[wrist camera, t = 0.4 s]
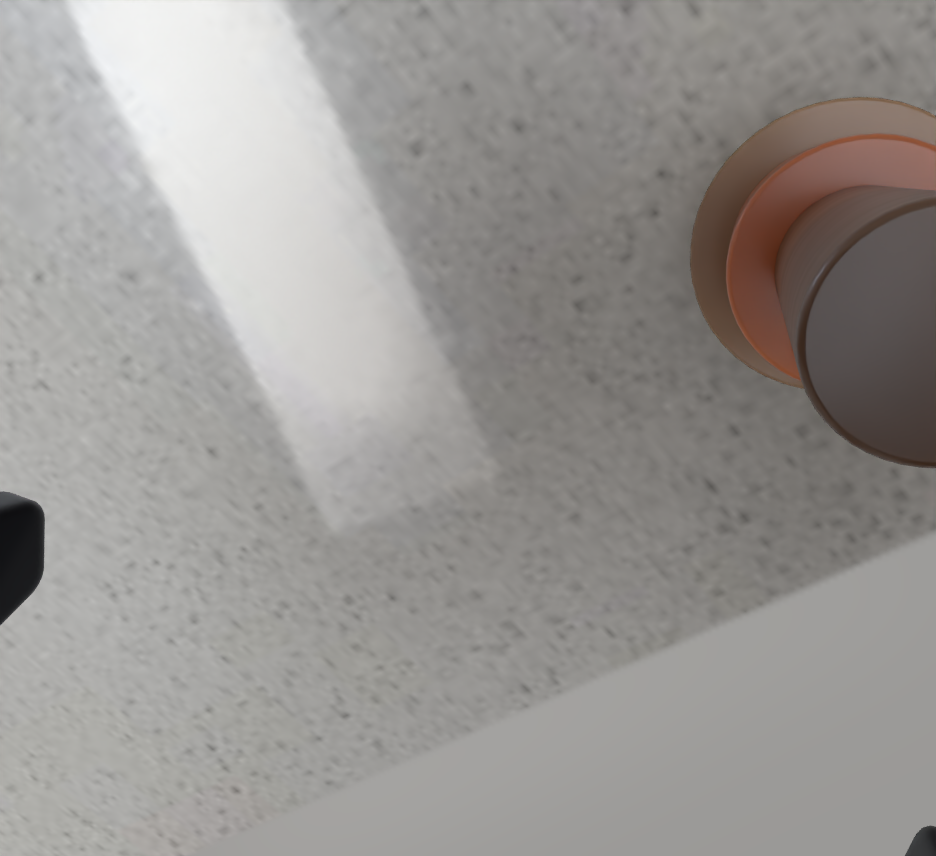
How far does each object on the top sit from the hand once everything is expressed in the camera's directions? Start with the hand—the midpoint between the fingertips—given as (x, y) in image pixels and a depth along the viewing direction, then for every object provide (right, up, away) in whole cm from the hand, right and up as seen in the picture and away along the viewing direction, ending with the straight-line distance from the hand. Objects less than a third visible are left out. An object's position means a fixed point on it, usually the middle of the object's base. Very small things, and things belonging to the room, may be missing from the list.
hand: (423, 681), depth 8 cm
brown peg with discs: (+6, +5, +5) cm, 9 cm away
